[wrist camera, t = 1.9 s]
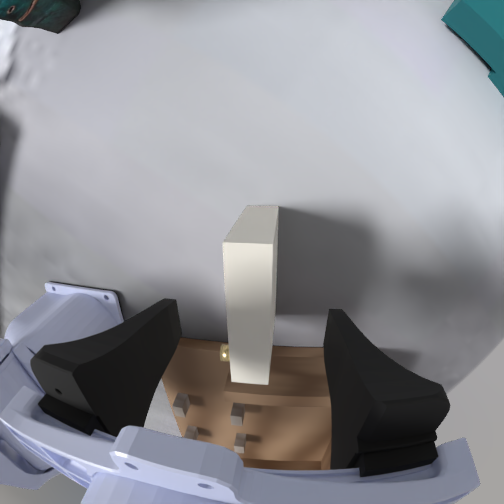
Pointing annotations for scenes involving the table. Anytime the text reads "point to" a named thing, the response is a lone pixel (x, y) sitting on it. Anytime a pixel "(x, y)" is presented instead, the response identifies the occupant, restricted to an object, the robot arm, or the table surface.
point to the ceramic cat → (40, 13)
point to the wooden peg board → (254, 406)
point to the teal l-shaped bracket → (481, 32)
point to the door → (251, 293)
